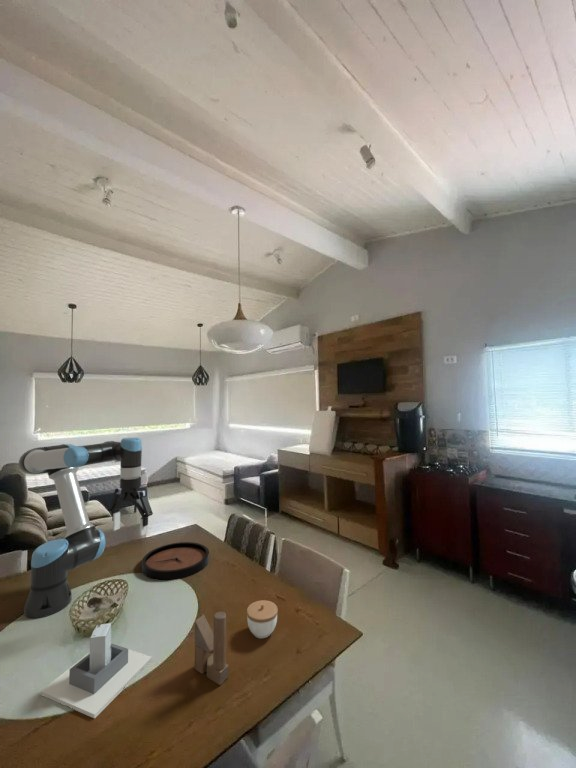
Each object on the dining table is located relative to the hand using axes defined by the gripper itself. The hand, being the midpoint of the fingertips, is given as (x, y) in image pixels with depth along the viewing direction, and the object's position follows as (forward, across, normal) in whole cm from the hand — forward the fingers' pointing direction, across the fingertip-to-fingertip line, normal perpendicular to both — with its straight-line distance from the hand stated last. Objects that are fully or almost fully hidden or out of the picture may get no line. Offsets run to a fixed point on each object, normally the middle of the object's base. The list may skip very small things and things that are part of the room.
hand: (129, 531), depth 131 cm
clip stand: (+29, -18, +28) cm, 44 cm away
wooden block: (+29, -48, +16) cm, 58 cm away
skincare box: (+28, -18, +28) cm, 43 cm away
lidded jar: (+29, -55, -5) cm, 62 cm away
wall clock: (+29, +5, -35) cm, 46 cm away
